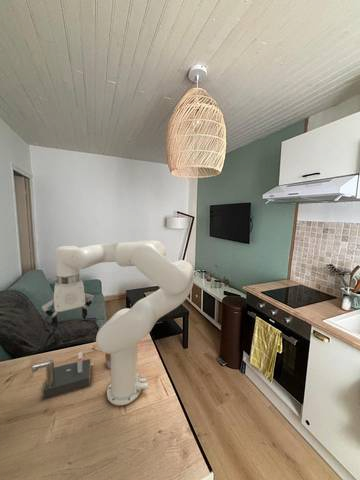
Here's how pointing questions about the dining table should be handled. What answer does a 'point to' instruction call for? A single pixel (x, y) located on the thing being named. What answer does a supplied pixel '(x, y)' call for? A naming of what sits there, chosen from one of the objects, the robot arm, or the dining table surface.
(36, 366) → the spout
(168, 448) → the dining table surface
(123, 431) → the dining table surface
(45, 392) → the base
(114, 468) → the dining table surface
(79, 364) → the tap handle
